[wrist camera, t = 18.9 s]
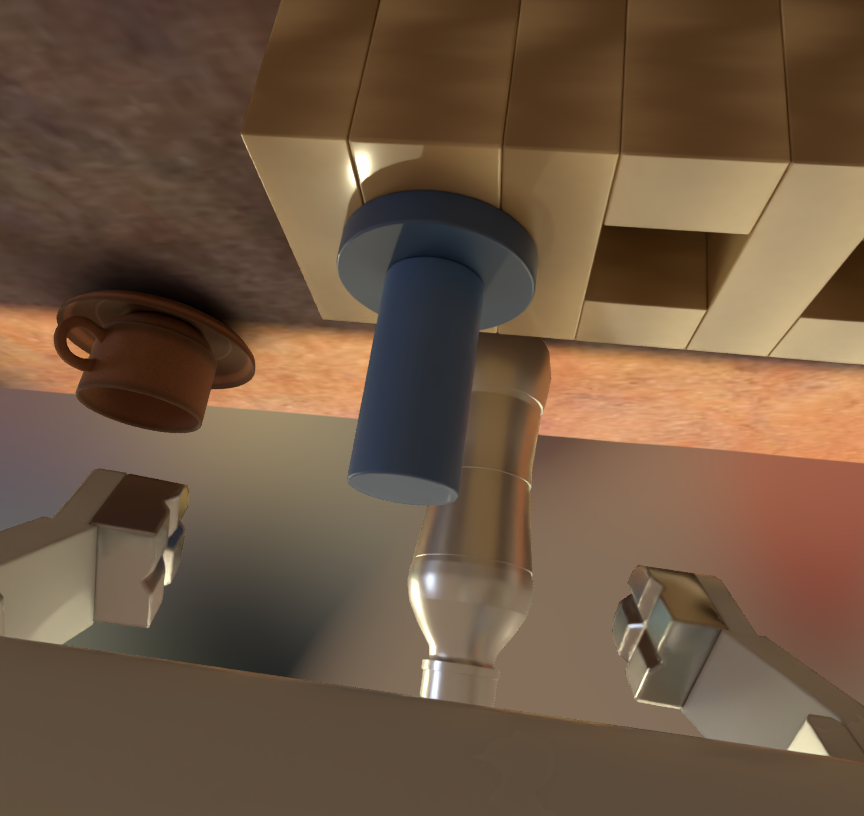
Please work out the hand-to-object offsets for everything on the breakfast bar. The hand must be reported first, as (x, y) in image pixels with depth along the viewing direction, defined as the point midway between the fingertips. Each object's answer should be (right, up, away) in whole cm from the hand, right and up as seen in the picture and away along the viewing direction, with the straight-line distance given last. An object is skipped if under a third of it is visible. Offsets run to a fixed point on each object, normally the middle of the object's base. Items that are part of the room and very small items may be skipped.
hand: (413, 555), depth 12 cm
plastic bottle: (+4, +7, +28) cm, 29 cm away
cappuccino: (+23, +4, +27) cm, 36 cm away
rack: (+8, +14, +10) cm, 18 cm away
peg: (+1, +13, +10) cm, 16 cm away
